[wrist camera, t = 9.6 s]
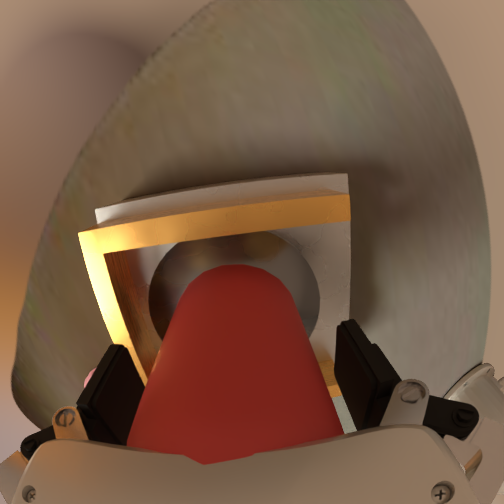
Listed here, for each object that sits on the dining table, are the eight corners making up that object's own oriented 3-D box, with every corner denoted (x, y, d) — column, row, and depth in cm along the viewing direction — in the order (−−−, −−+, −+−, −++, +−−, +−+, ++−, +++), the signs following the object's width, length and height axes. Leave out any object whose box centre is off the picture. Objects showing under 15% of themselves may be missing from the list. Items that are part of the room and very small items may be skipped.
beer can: (204, 239, 14) (113, 467, 2) (314, 286, 15) (421, 482, 3) (166, 335, 15) (106, 520, 4) (263, 370, 17) (285, 547, 5)
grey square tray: (324, 171, 17) (368, 175, 11) (329, 345, 21) (354, 399, 15) (122, 200, 17) (71, 217, 11) (167, 363, 21) (150, 419, 15)
